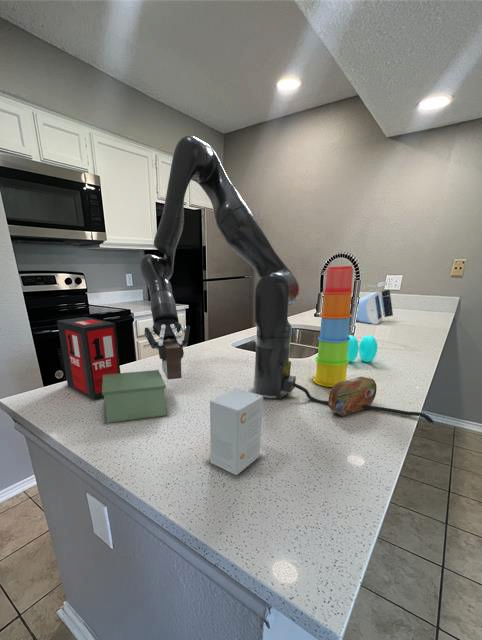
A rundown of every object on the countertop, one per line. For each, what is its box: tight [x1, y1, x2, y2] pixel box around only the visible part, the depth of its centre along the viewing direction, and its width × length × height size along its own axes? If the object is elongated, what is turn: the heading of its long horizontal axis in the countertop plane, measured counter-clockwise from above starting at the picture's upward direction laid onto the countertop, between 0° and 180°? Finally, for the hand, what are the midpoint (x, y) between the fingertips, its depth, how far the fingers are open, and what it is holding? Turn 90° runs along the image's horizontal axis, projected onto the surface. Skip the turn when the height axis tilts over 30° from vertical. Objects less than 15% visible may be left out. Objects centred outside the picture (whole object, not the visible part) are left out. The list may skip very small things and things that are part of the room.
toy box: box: [102, 369, 167, 424], centre depth 82 cm, size 15×13×8 cm
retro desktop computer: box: [355, 281, 394, 325], centre depth 200 cm, size 25×23×17 cm
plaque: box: [161, 339, 182, 380], centre depth 93 cm, size 10×4×9 cm, turn 16°
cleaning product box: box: [56, 316, 121, 401], centre depth 93 cm, size 16×9×20 cm, turn 47°
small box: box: [209, 388, 264, 476], centre depth 60 cm, size 8×6×13 cm
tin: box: [328, 376, 378, 417], centre depth 81 cm, size 15×3×8 cm, turn 117°
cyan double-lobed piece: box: [347, 334, 378, 363], centre depth 121 cm, size 10×10×10 cm
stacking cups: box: [312, 265, 354, 388], centre depth 95 cm, size 10×10×35 cm
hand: (172, 358), depth 91 cm, fingers closed on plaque, 4 cm apart
